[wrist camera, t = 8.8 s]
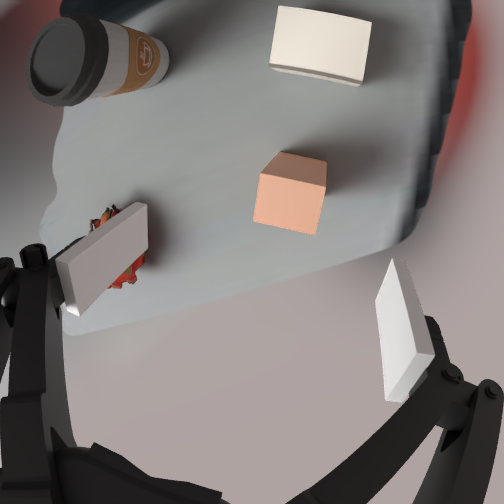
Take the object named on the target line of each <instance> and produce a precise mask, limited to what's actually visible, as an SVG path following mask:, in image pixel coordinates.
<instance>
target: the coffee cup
mask: <svg viewBox="0 0 504 504" xmlns="http://www.w3.org/2000/svg"><path fill="white" fill-rule="evenodd" d="M168 66H169V54H168V50H167V48H166V46H165V45H164V44H163V42H162V41H160V40H159V39H157V38H154V37H151V36H149V35H146V34H145V33H143V32H140V31H137V30H134V29H131V28H129V27H126V26H123V25H119V24H114V23H110V22H107V21H103V20H100V19H98V18H96V17H94V16H93V15H90V14H69V15H65V16H63V17H60V18H57V19H54V20H52V21H51V22H49V23H47V24H46V25H45V26H44V27H43V28H42V29H41V30H40V32H39V33H38V34H37V36H36V37H35V39H34V41H33V43H32V45H31V48H30V50H29V54H28V58H27V65H26V75H27V82H28V85H29V89H30V90H31V92H32V94H33V96H34V97H36V99H38V100H39V101H41V102H44V103H47V104H49V105H52V106H74V105H76V104H79V103H81V102H83V101H86V100H90V99H94V98H99V97H107V96H112V95H117V94H122V93H127V92H132V91H135V90H141V89H146V88H150V87H152V86H154V85H156V84H157V83H158V82H159V81H160V80H161V79H162V78H163V76H164V75H165V73H166V71H167V69H168Z"/></svg>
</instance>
